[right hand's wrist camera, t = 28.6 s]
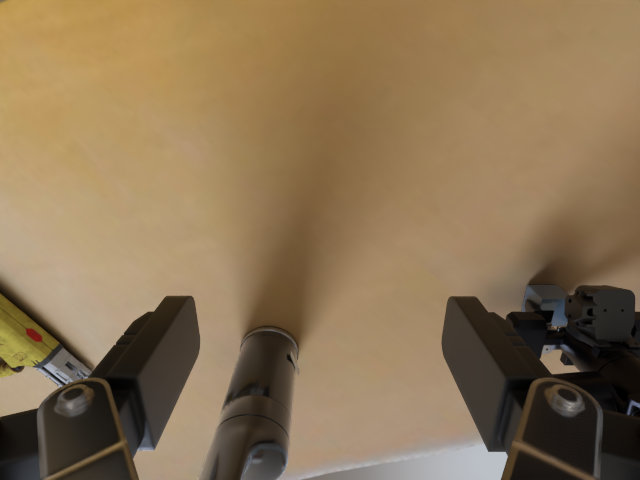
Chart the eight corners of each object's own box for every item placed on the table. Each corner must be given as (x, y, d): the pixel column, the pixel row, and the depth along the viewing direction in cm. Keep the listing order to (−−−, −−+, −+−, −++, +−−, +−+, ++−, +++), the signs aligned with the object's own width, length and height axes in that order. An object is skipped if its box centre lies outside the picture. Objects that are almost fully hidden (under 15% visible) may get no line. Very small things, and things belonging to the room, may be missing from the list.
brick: (549, 310, 57) (566, 326, 53) (520, 310, 57) (535, 326, 53) (556, 284, 55) (574, 298, 51) (527, 284, 55) (542, 298, 51)
